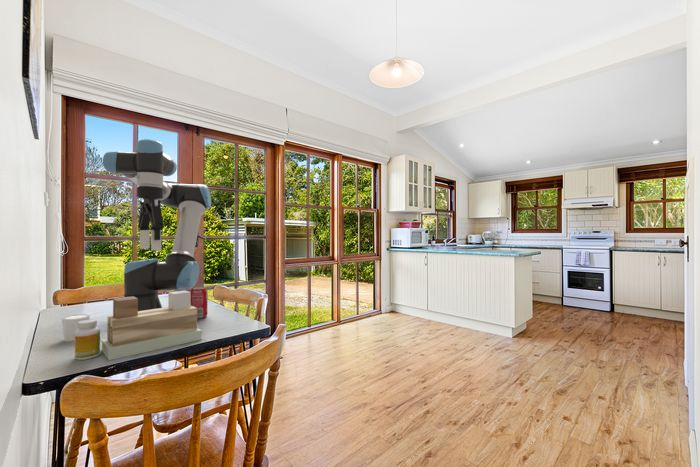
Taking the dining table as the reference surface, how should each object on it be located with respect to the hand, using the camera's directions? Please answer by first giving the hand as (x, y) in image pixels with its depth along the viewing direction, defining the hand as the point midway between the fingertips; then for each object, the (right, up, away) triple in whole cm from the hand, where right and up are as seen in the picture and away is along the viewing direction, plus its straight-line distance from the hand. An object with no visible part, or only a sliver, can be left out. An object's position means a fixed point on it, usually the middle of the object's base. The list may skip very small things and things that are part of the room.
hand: (150, 249), depth 109 cm
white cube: (+13, -18, -6) cm, 23 cm away
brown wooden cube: (+3, -18, -16) cm, 25 cm away
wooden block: (+8, -25, -11) cm, 29 cm away
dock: (+8, -28, -11) cm, 31 cm away
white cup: (-21, -29, -5) cm, 36 cm away
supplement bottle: (-4, -29, -21) cm, 36 cm away
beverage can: (+7, -29, +21) cm, 36 cm away
